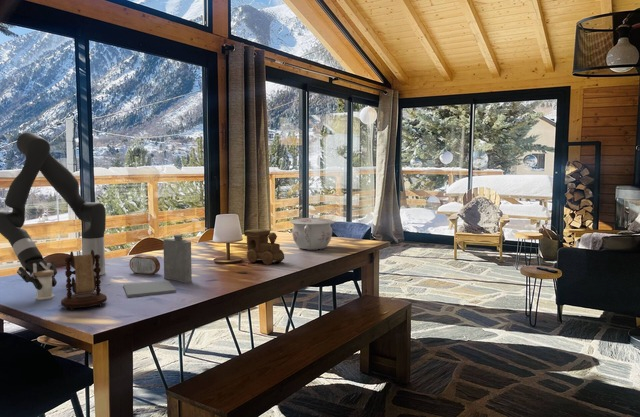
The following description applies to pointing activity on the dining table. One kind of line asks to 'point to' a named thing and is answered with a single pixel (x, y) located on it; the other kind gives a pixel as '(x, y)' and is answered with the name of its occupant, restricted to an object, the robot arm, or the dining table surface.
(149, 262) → the tin
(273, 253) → the wooden toy train
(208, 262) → the dining table surface
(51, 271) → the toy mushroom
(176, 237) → the hip flask
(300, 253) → the dining table surface
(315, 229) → the chamber pot
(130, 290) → the mat
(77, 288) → the scroll
